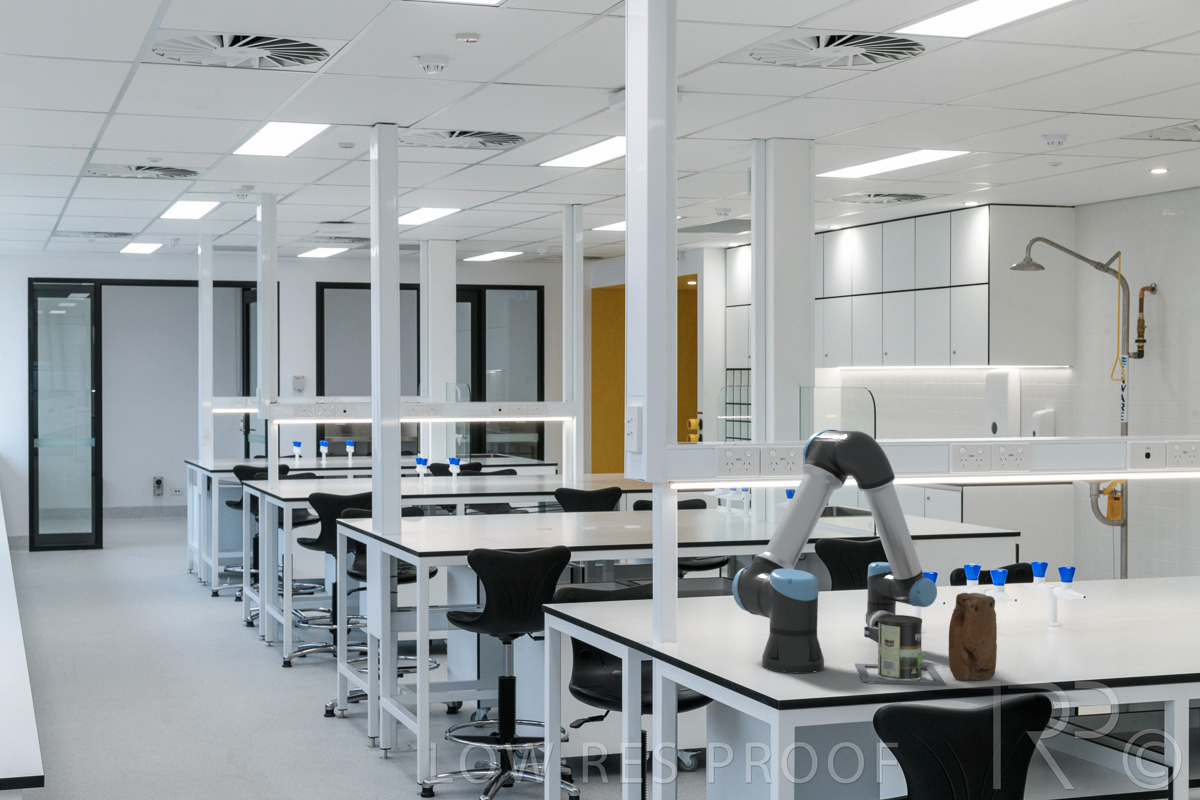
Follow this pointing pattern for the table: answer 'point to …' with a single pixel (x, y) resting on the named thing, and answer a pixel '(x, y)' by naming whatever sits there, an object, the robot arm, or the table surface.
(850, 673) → the table surface
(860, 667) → the flat grey frame
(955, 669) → the brown rough upright block
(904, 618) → the coffee can
